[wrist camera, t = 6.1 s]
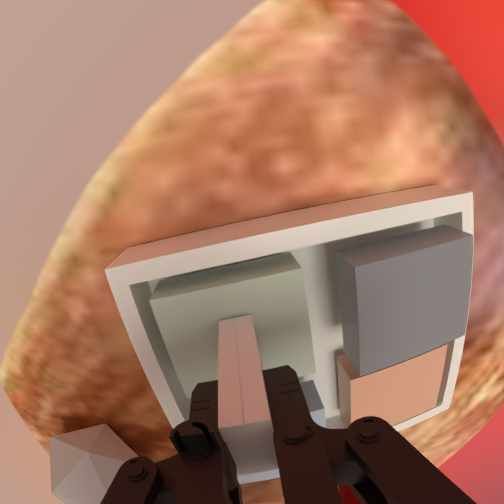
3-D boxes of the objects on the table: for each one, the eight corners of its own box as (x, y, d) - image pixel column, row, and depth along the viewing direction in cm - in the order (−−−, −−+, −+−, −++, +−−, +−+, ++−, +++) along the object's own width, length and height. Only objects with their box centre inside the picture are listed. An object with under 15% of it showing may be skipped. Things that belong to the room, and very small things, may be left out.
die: (124, 474, 24) (170, 537, 17) (43, 475, 19) (67, 548, 11) (127, 409, 25) (177, 468, 18) (37, 403, 20) (52, 474, 12)
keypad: (203, 442, 22) (202, 478, 19) (127, 247, 18) (104, 269, 14) (426, 381, 23) (449, 407, 19) (433, 184, 18) (472, 191, 14)
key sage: (190, 370, 18) (187, 398, 15) (159, 280, 16) (149, 300, 14) (304, 346, 18) (316, 372, 16) (290, 252, 16) (301, 267, 14)
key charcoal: (343, 349, 17) (359, 376, 14) (334, 250, 15) (354, 267, 13) (441, 316, 17) (465, 334, 15) (444, 224, 15) (473, 234, 13)
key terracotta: (340, 416, 21) (350, 440, 18) (336, 356, 19) (350, 380, 16) (420, 387, 21) (435, 406, 18) (427, 326, 19) (447, 343, 17)
